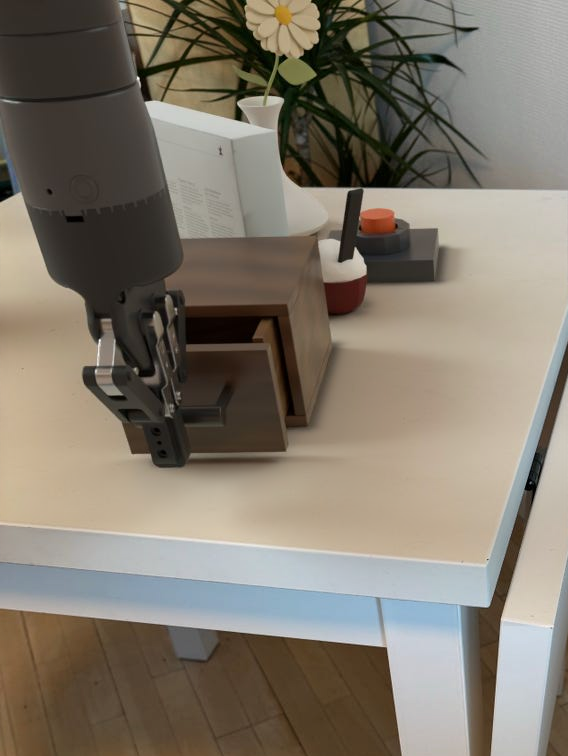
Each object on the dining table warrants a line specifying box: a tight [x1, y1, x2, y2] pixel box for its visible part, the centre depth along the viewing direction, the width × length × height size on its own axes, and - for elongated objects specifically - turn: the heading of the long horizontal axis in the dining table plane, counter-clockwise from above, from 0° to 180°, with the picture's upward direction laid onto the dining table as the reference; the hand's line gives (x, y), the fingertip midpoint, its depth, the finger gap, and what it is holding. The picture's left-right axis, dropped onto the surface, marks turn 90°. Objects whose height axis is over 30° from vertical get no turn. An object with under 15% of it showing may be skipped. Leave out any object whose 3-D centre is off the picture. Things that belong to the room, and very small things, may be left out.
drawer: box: [121, 316, 292, 455], centre depth 68 cm, size 18×12×8 cm, turn 179°
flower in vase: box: [231, 0, 330, 236], centre depth 98 cm, size 13×11×25 cm
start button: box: [359, 207, 396, 234], centre depth 95 cm, size 4×4×2 cm
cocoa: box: [318, 187, 368, 315], centre depth 85 cm, size 10×6×12 cm, turn 17°
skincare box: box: [144, 100, 289, 239], centre depth 89 cm, size 21×6×16 cm, turn 45°
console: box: [326, 217, 440, 284], centre depth 97 cm, size 12×10×4 cm
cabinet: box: [164, 235, 333, 427], centre depth 74 cm, size 15×13×10 cm
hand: (173, 462), depth 61 cm, fingers closed
